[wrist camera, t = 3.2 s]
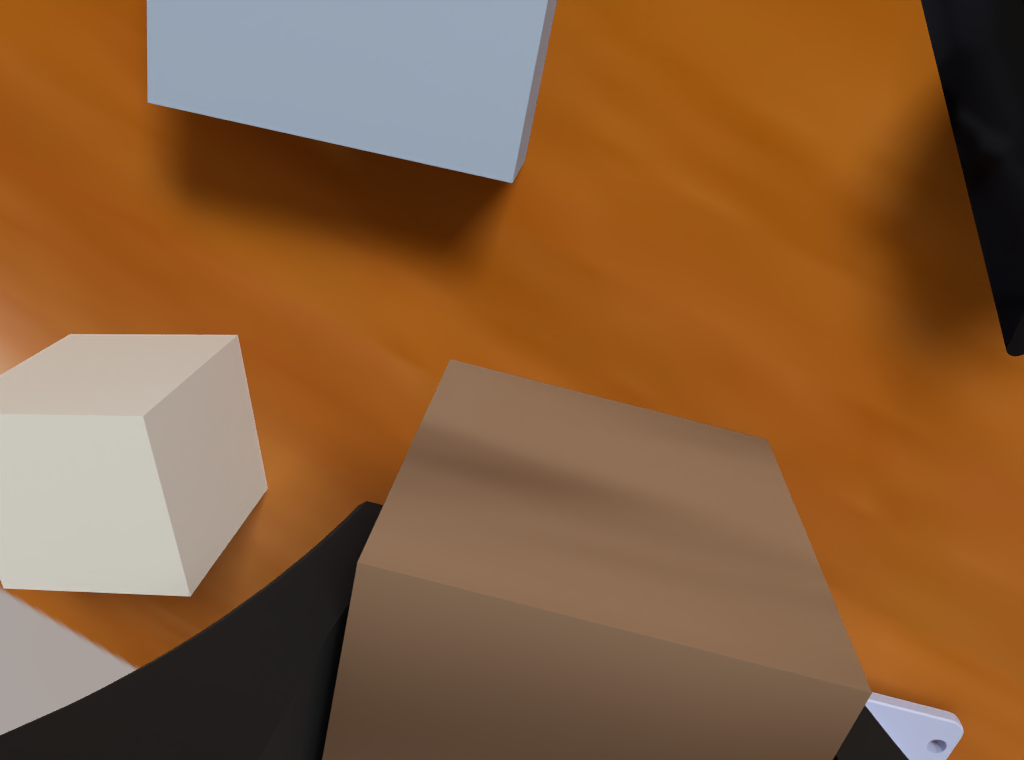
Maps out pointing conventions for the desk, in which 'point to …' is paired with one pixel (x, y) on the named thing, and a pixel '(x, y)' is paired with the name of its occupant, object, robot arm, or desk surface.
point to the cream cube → (125, 463)
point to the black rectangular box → (988, 134)
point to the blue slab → (362, 72)
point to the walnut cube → (588, 593)
